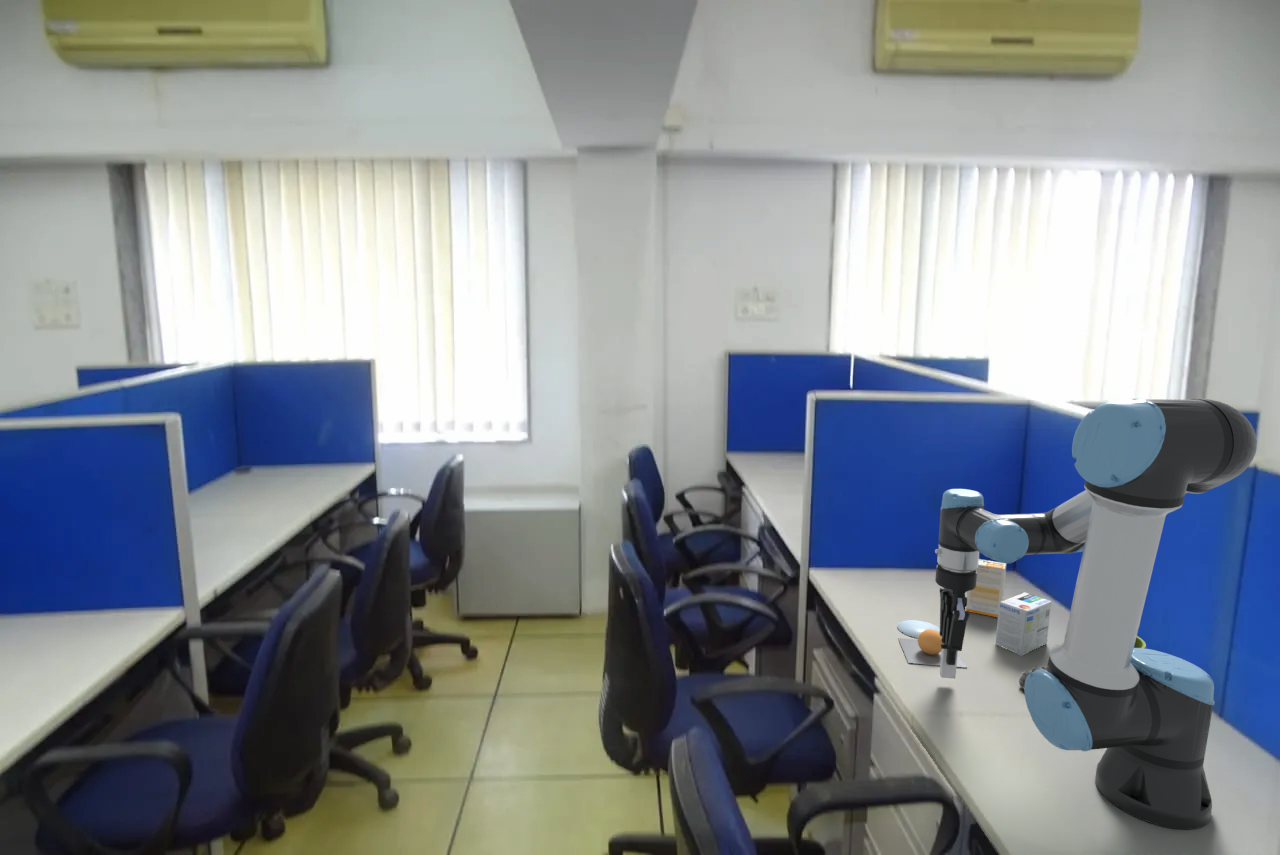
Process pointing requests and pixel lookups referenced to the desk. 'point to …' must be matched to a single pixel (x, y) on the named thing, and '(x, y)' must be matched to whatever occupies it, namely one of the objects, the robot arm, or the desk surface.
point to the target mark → (923, 654)
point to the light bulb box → (1023, 623)
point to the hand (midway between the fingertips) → (947, 676)
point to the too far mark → (915, 627)
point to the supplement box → (987, 588)
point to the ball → (930, 641)
